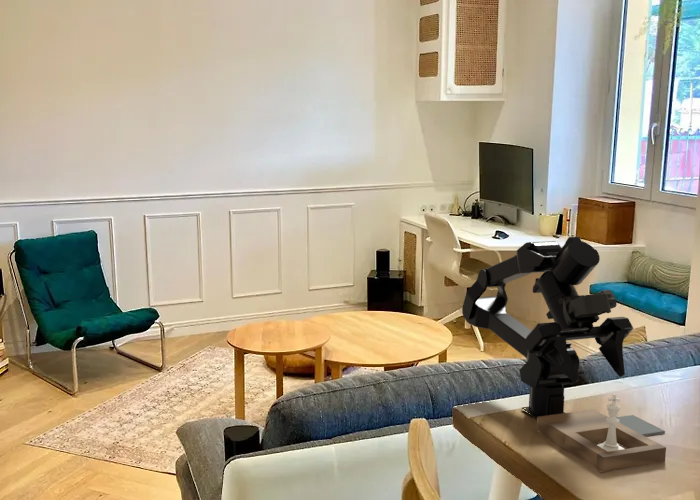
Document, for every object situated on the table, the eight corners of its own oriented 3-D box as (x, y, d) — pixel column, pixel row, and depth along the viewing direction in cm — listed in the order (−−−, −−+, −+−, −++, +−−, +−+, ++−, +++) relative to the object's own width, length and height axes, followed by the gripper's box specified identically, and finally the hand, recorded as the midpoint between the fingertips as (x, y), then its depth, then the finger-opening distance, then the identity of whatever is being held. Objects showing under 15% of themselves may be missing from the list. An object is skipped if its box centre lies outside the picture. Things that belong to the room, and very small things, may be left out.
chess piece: (629, 461, 111) (633, 401, 110) (596, 458, 112) (600, 398, 111) (623, 448, 116) (627, 390, 115) (592, 446, 117) (596, 388, 116)
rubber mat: (597, 421, 128) (597, 419, 128) (632, 416, 130) (632, 414, 130) (628, 438, 120) (628, 436, 120) (664, 433, 123) (665, 430, 123)
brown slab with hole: (536, 430, 123) (537, 416, 123) (592, 422, 127) (593, 409, 127) (602, 472, 107) (603, 457, 107) (664, 462, 111) (666, 447, 111)
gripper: (538, 276, 116) (576, 359, 107) (629, 271, 122) (673, 349, 113) (510, 312, 124) (543, 392, 115) (597, 306, 130) (635, 381, 121)
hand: (600, 378), depth 116 cm, fingers open, 9 cm apart
